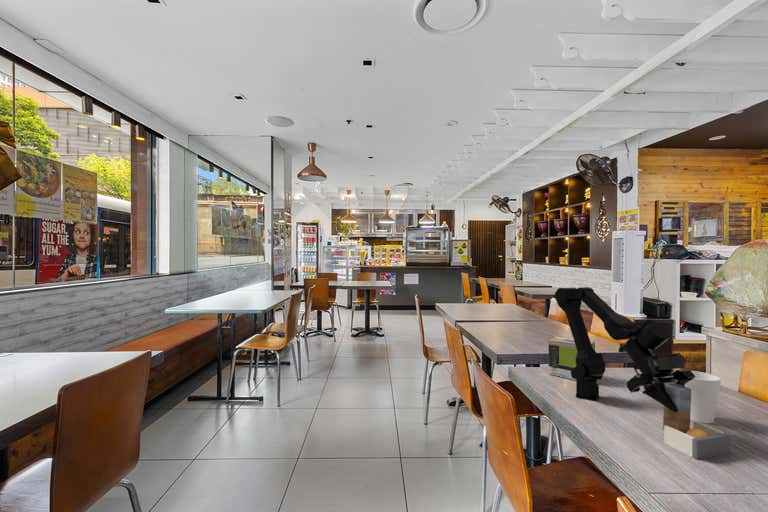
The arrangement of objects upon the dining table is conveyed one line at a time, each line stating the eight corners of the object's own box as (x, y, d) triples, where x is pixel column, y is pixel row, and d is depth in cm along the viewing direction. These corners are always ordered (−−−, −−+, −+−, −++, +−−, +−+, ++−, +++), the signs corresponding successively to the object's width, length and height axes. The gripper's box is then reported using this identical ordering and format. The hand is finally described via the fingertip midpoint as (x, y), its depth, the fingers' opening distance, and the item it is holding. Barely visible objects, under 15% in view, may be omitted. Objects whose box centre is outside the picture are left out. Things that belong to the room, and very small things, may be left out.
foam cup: (711, 428, 105) (711, 382, 105) (673, 415, 113) (673, 373, 113) (726, 421, 109) (726, 377, 109) (689, 409, 117) (688, 369, 117)
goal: (664, 443, 96) (664, 425, 96) (696, 437, 99) (695, 421, 99) (696, 459, 89) (696, 440, 89) (730, 453, 91) (730, 434, 91)
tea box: (596, 378, 148) (595, 341, 148) (586, 383, 142) (586, 345, 142) (558, 369, 160) (558, 335, 160) (547, 374, 153) (547, 339, 153)
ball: (690, 433, 92) (682, 447, 94) (716, 444, 89) (706, 458, 91) (689, 420, 95) (681, 434, 98) (713, 430, 93) (704, 444, 95)
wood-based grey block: (663, 429, 100) (664, 384, 100) (674, 427, 101) (676, 383, 101) (677, 437, 96) (679, 390, 96) (689, 435, 97) (691, 389, 97)
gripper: (635, 345, 100) (677, 400, 89) (688, 341, 105) (733, 393, 94) (611, 365, 108) (647, 419, 97) (661, 361, 112) (700, 411, 101)
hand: (682, 410), depth 97 cm, fingers closed on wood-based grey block, 4 cm apart
